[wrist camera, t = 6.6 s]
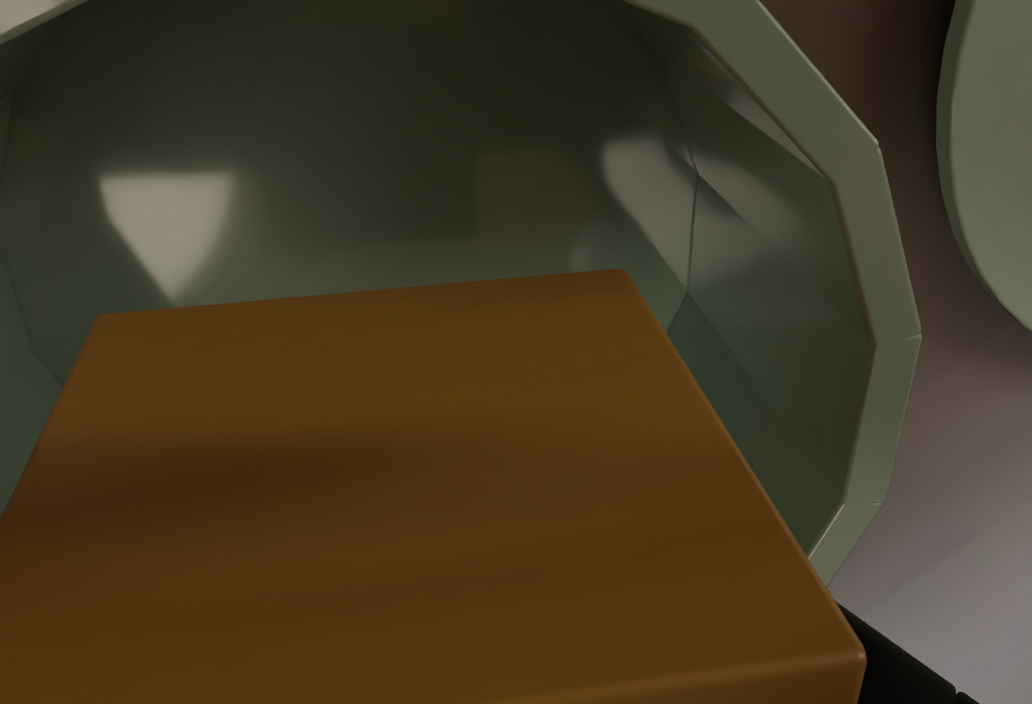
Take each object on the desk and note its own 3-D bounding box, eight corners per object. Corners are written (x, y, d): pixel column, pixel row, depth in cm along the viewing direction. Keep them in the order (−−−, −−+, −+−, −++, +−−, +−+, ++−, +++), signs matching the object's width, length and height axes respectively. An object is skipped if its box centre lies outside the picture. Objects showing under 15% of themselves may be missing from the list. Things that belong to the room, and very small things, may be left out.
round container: (690, 493, 20) (829, 757, 14) (80, 568, 18) (-30, 900, 13) (753, -175, 14) (1038, -163, 8) (-161, -151, 12) (-577, -114, 7)
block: (610, 630, 12) (767, 1097, 8) (196, 688, 11) (110, 1240, 7) (627, 264, 9) (875, 654, 5) (93, 311, 9) (-146, 808, 4)
